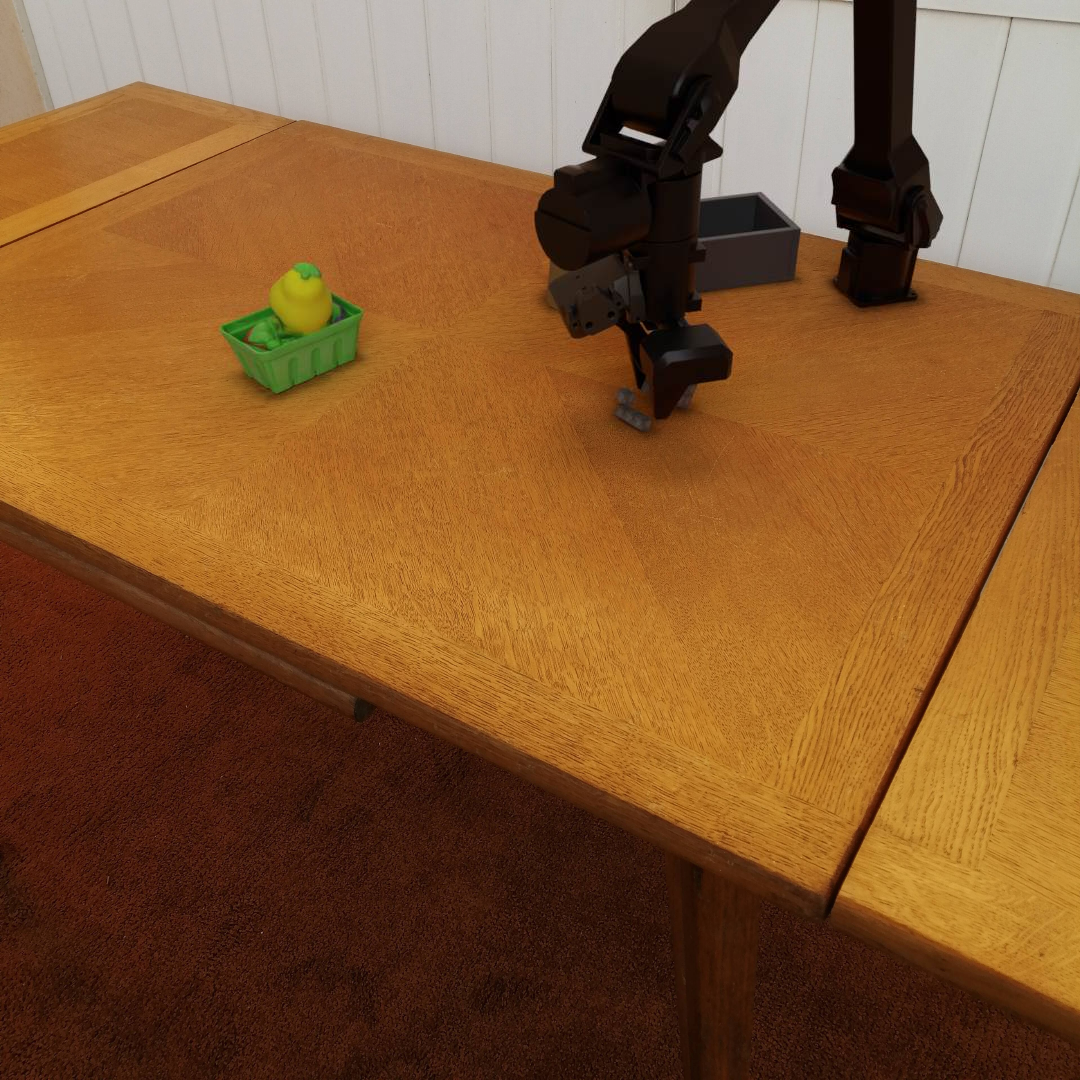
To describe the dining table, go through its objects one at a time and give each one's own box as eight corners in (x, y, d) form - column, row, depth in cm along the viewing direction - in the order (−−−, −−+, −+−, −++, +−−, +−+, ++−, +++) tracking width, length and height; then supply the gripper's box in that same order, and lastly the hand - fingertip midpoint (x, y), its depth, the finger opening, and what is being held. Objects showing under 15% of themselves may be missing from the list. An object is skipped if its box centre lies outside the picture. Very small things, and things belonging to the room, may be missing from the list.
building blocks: (702, 374, 86) (650, 368, 80) (677, 431, 88) (624, 430, 82) (674, 359, 88) (621, 352, 82) (650, 415, 90) (596, 413, 84)
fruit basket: (327, 332, 100) (307, 222, 92) (382, 363, 95) (365, 249, 88) (227, 376, 94) (197, 262, 87) (280, 411, 89) (253, 293, 82)
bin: (755, 240, 113) (761, 191, 110) (794, 279, 105) (801, 228, 102) (632, 255, 111) (633, 206, 108) (662, 297, 103) (664, 245, 100)
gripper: (530, 195, 82) (537, 363, 92) (589, 295, 68) (589, 480, 78) (661, 180, 83) (653, 346, 93) (744, 275, 69) (725, 458, 79)
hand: (652, 403), depth 86 cm, fingers closed on building blocks, 4 cm apart
